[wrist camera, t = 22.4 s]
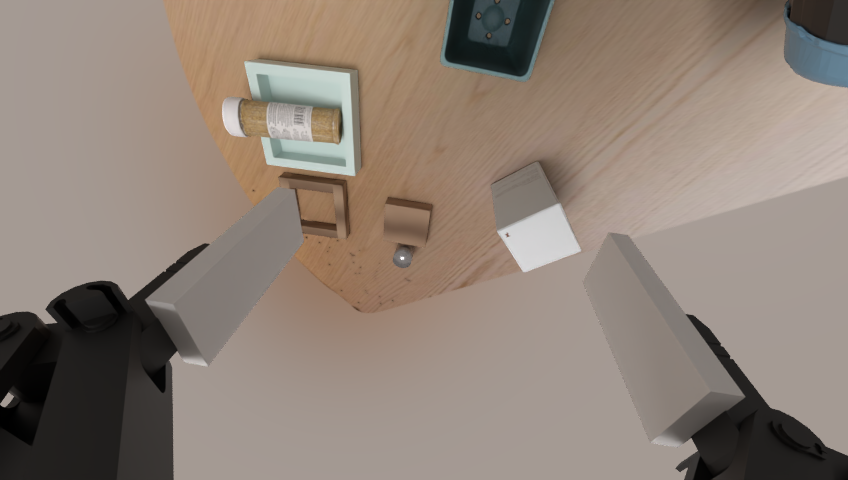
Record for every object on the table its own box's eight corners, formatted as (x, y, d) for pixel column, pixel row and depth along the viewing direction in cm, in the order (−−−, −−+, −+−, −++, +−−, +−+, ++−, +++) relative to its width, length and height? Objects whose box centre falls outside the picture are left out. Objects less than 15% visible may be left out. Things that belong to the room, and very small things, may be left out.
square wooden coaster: (388, 196, 49) (385, 203, 47) (432, 203, 49) (430, 211, 47) (386, 232, 53) (383, 240, 51) (426, 238, 53) (425, 247, 51)
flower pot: (445, 56, 37) (438, 65, 30) (461, -42, 32) (458, -60, 25) (517, 71, 37) (528, 83, 30) (546, -25, 32) (568, -39, 25)
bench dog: (397, 238, 53) (393, 252, 50) (415, 240, 53) (411, 254, 50) (397, 251, 55) (392, 266, 52) (414, 254, 55) (410, 269, 52)
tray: (258, 58, 40) (244, 61, 37) (357, 70, 39) (349, 73, 37) (278, 156, 47) (267, 164, 45) (361, 167, 47) (354, 176, 44)
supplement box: (511, 221, 49) (521, 275, 38) (489, 183, 46) (494, 230, 35) (558, 200, 46) (583, 252, 35) (539, 158, 43) (560, 202, 32)
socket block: (284, 172, 49) (278, 177, 47) (346, 180, 48) (342, 185, 47) (294, 225, 55) (289, 231, 53) (349, 233, 54) (346, 239, 53)
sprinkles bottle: (343, 112, 42) (236, 101, 40) (339, 104, 38) (219, 91, 36) (342, 147, 43) (237, 137, 41) (338, 143, 39) (221, 132, 37)
